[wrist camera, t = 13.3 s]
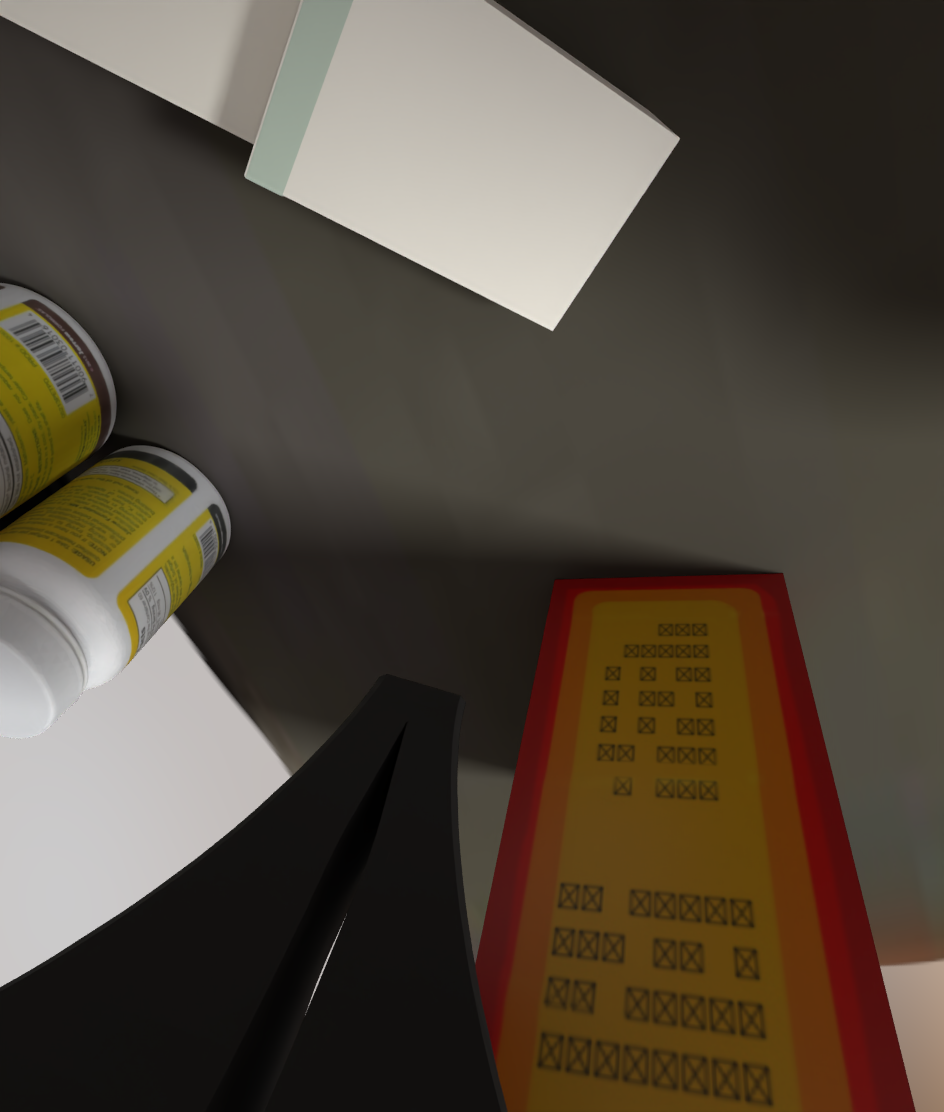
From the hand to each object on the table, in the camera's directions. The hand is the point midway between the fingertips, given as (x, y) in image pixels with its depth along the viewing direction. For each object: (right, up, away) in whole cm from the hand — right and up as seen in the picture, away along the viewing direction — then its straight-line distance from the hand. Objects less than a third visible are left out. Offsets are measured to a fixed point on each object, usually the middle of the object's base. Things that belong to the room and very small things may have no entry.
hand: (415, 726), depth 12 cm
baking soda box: (+7, -2, +12) cm, 14 cm away
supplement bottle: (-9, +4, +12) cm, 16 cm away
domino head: (+4, +10, +4) cm, 11 cm away
